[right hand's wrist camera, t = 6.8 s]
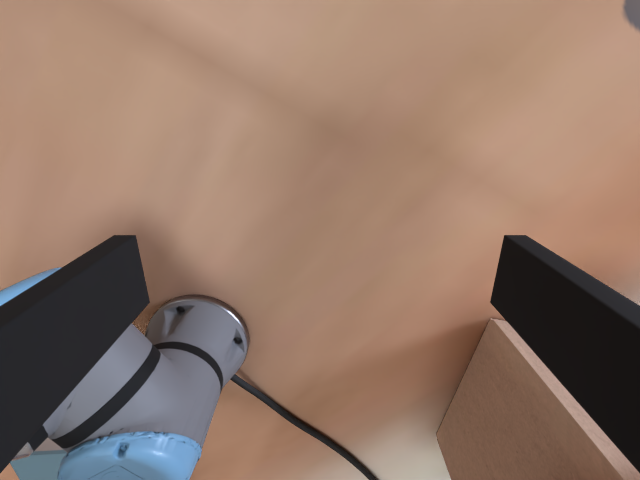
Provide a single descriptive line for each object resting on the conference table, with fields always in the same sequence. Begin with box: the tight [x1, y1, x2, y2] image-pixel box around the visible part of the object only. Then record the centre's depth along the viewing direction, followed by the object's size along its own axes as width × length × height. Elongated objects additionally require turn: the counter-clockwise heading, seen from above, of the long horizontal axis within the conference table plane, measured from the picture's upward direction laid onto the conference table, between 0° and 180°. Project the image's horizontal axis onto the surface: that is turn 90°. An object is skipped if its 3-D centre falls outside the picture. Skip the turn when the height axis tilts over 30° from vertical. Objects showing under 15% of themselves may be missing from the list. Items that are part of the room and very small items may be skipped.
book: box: [10, 438, 67, 480], centre depth 61 cm, size 23×16×5 cm
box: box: [436, 318, 640, 480], centre depth 44 cm, size 44×36×27 cm
